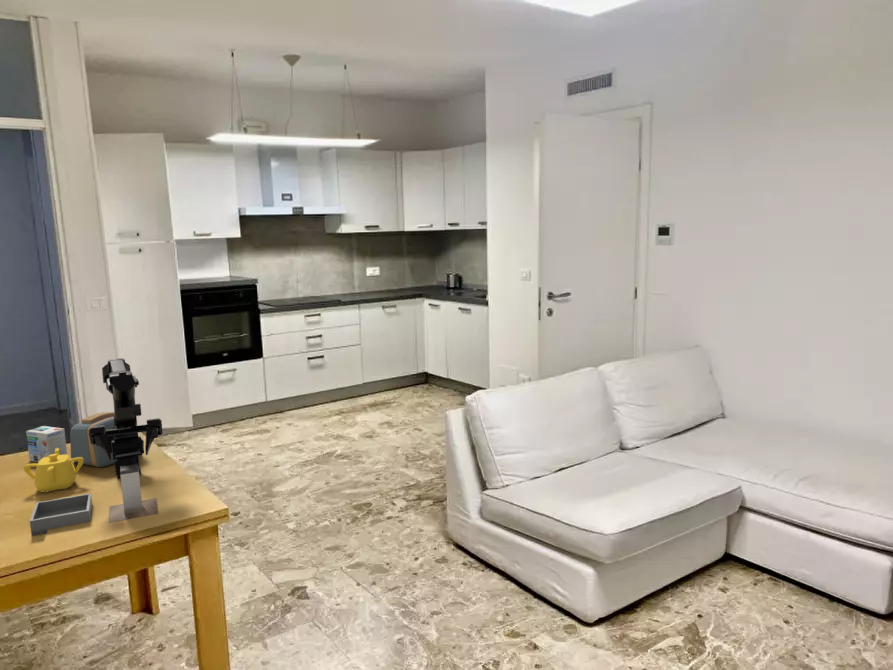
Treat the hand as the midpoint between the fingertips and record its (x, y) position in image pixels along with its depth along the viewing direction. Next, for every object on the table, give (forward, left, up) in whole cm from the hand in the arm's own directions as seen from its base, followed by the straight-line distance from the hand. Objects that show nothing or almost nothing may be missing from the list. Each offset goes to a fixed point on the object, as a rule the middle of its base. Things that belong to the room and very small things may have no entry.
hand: (128, 457), depth 184 cm
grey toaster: (+8, -47, -14) cm, 50 cm away
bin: (+17, +4, -13) cm, 22 cm away
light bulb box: (+26, -56, -14) cm, 63 cm away
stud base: (0, +8, -13) cm, 16 cm away
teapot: (+21, -26, -14) cm, 36 cm away
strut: (0, +8, -12) cm, 15 cm away
